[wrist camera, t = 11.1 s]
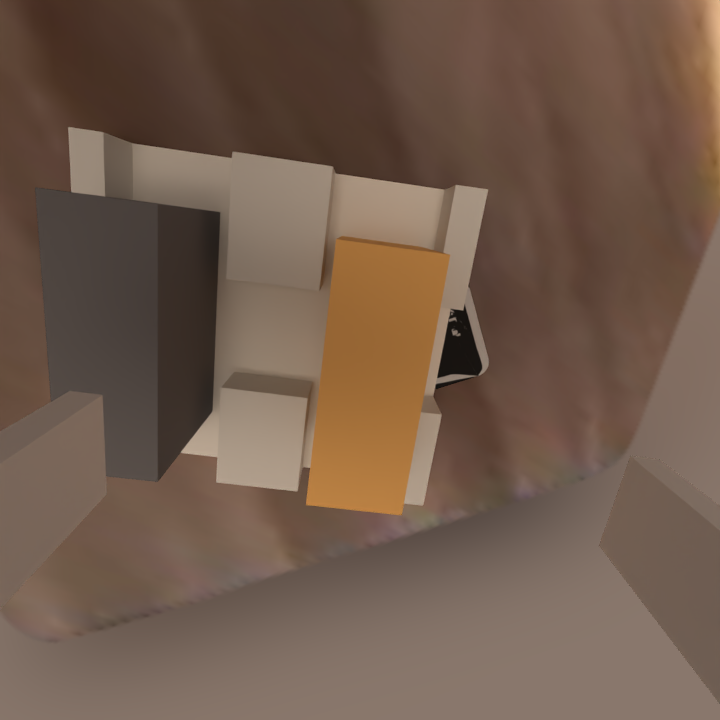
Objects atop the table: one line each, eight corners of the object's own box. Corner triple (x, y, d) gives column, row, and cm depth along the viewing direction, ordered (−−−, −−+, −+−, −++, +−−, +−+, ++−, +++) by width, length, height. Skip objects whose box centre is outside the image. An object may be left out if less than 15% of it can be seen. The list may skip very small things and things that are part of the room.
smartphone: (227, 334, 27) (460, 255, 26) (233, 329, 29) (456, 254, 27) (273, 439, 29) (491, 371, 28) (277, 431, 31) (486, 365, 29)
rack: (111, 142, 24) (68, 127, 20) (468, 195, 25) (488, 189, 21) (118, 437, 29) (84, 467, 25) (414, 471, 30) (422, 505, 26)
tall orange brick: (342, 235, 25) (336, 238, 17) (421, 246, 25) (450, 254, 17) (319, 429, 28) (306, 505, 20) (389, 437, 28) (401, 515, 21)
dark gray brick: (137, 200, 24) (35, 187, 16) (220, 212, 24) (157, 204, 17) (140, 403, 27) (56, 470, 20) (212, 411, 28) (157, 481, 20)
